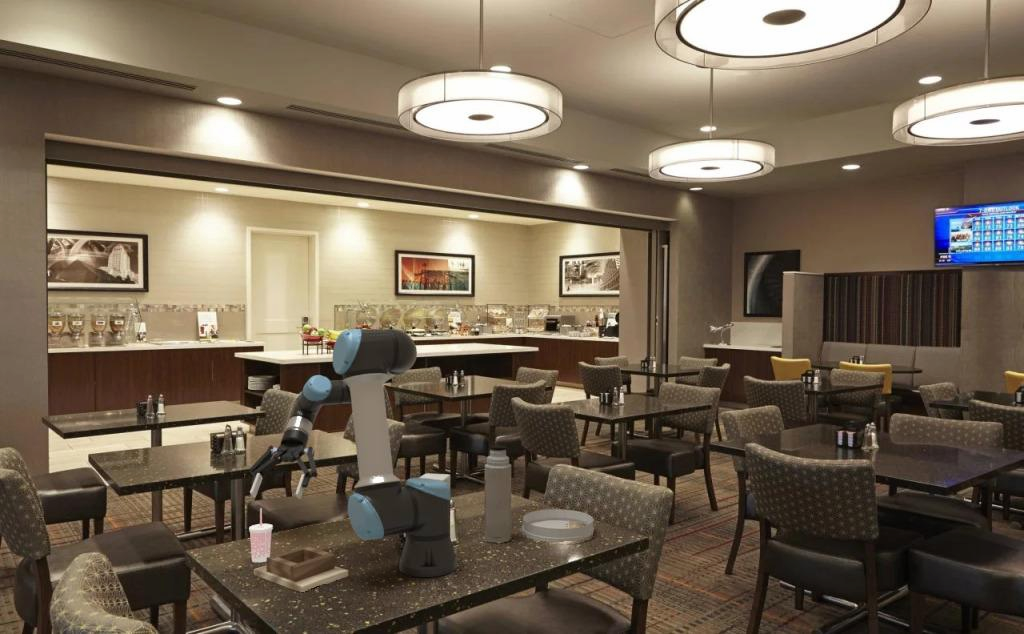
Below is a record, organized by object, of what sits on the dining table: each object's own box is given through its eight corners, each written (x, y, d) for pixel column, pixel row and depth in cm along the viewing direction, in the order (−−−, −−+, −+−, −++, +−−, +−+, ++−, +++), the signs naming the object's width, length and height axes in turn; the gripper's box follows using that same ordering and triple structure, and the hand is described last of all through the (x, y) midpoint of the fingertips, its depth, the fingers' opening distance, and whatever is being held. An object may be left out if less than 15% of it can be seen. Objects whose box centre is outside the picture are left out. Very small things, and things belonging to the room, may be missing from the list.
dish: (508, 538, 213) (508, 521, 213) (543, 520, 232) (543, 505, 232) (574, 550, 202) (574, 533, 202) (605, 531, 220) (605, 515, 220)
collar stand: (348, 576, 180) (348, 556, 180) (302, 593, 169) (302, 572, 169) (299, 560, 192) (299, 542, 192) (253, 575, 181) (253, 555, 181)
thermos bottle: (480, 542, 208) (481, 447, 208) (489, 534, 216) (489, 443, 216) (506, 545, 206) (506, 449, 206) (514, 537, 213) (514, 444, 213)
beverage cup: (266, 554, 197) (266, 504, 197) (276, 559, 193) (276, 508, 193) (245, 559, 193) (245, 508, 193) (254, 565, 188) (255, 512, 188)
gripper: (338, 443, 219) (320, 503, 204) (261, 441, 221) (238, 501, 206) (332, 428, 213) (313, 489, 198) (254, 427, 216) (229, 487, 201)
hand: (275, 495), depth 202 cm, fingers open, 13 cm apart
